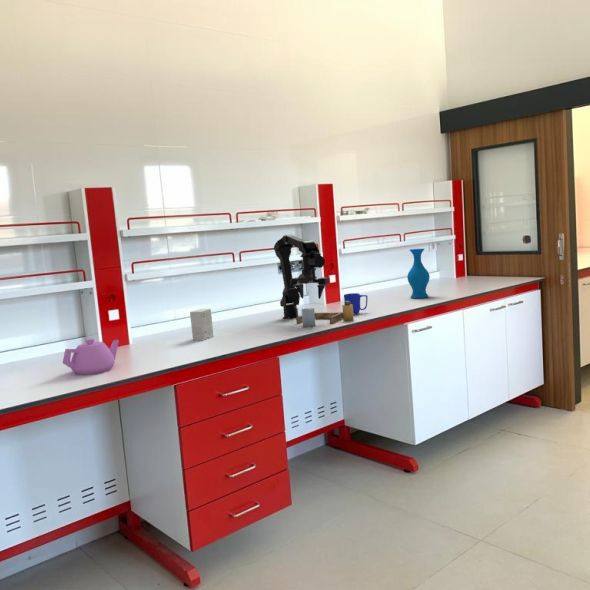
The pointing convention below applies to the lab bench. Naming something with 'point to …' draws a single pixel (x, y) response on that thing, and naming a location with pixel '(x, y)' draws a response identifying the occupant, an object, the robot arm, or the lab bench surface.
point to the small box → (201, 324)
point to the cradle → (325, 317)
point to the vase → (418, 276)
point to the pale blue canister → (308, 317)
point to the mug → (355, 301)
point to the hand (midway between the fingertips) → (310, 298)
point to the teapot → (91, 357)
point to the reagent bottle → (347, 311)
